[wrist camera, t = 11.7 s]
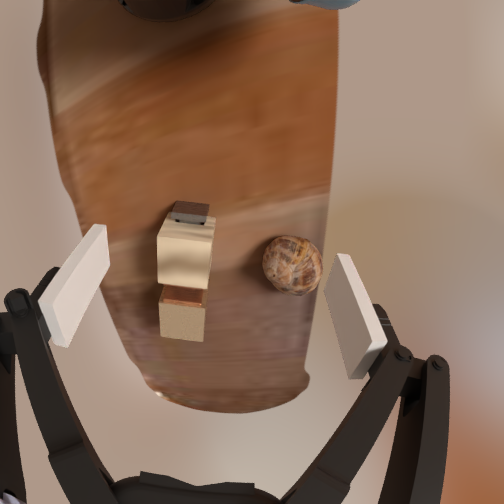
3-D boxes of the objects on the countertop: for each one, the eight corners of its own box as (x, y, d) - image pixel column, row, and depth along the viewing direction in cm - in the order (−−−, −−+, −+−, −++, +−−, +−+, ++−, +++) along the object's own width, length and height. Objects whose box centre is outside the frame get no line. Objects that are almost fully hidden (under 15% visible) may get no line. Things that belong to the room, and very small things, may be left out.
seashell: (243, 274, 53) (262, 284, 43) (266, 225, 53) (290, 225, 43) (294, 297, 56) (321, 311, 46) (316, 252, 56) (346, 257, 46)
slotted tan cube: (168, 211, 47) (157, 236, 41) (216, 217, 48) (211, 242, 41) (167, 257, 52) (158, 285, 45) (211, 263, 52) (206, 292, 46)
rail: (169, 199, 46) (156, 222, 39) (217, 205, 46) (212, 229, 40) (168, 311, 58) (161, 339, 52) (206, 315, 59) (202, 345, 52)
